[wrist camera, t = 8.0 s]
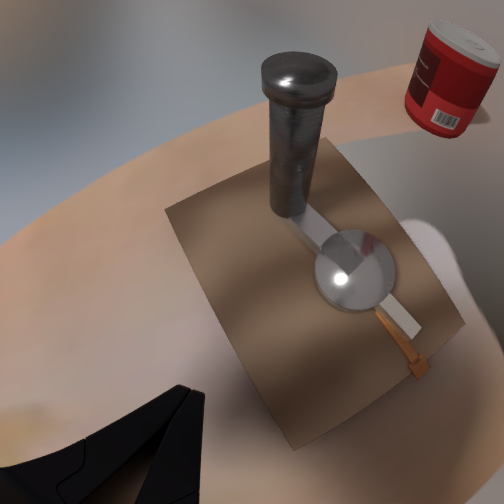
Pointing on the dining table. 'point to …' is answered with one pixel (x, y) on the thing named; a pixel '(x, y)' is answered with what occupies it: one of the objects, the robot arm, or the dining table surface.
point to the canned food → (450, 79)
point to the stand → (308, 296)
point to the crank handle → (298, 187)
